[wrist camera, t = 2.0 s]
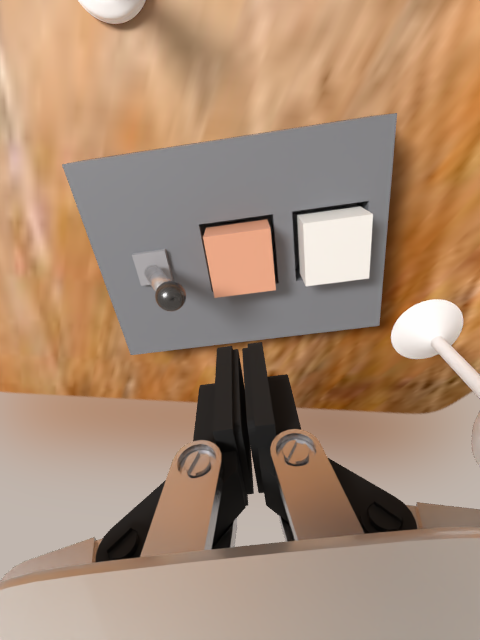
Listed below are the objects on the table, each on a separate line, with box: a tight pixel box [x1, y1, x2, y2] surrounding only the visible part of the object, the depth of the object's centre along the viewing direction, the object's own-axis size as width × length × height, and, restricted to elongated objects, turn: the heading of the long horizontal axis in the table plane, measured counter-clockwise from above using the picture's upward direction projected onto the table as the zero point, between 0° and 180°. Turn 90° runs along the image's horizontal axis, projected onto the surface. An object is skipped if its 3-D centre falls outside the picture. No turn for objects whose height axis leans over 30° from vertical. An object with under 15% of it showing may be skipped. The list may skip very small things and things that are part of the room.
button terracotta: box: [203, 219, 276, 298], centre depth 24 cm, size 4×4×2 cm
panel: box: [62, 113, 397, 355], centre depth 26 cm, size 21×15×4 cm
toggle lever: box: [144, 265, 186, 311], centre depth 22 cm, size 2×2×6 cm
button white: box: [297, 206, 373, 286], centre depth 23 cm, size 4×4×2 cm
